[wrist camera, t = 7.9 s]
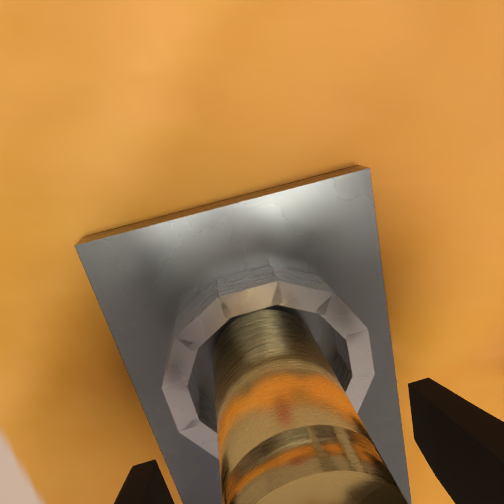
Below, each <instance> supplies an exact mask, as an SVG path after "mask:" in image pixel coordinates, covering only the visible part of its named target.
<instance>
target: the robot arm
mask: <svg viewBox="0 0 504 504" xmlns="http://www.w3.org/2000/svg"><path fill="white" fill-rule="evenodd" d="M408 388H409V397H410V406H411V414H412V423H413V432H414V439H415V441H416V443H417V445H418V446H419V448H420V450H421V452H422V454H423V455H424V457H425V459H426V461H427V462H428V464H429V466H430V467H431V469H432V471H433V472H434V474H435V476H436V477H437V479H438V480H439V481H440V483H441V484H442V486H443V487H444V488H445V490H446V491H447V492H448V494H449V495H450V497H451V498H452V499H453V501H454V502H455V504H504V422H503V421H501V420H499V419H497V418H496V417H494V416H492V415H490V414H489V413H487V412H485V411H484V410H482V409H480V408H478V407H477V406H475V405H473V404H472V403H470V402H468V401H467V400H465V399H463V398H462V397H460V396H458V395H457V394H455V393H453V392H452V391H450V390H448V389H447V388H445V387H443V386H442V385H440V384H438V383H437V382H435V381H433V380H432V379H430V378H426V379H422V380H419V381H416V382H412V383H409V384H408ZM114 504H174V502H173V499H172V497H171V495H170V492H169V490H168V488H167V485H166V483H165V481H164V478H163V476H162V474H161V471H160V469H159V467H158V464H157V462H156V460H151V461H148V462H145V463H141V464H138V465H135V466H133V467H132V469H131V470H130V472H129V474H128V476H127V478H126V480H125V482H124V484H123V486H122V488H121V490H120V492H119V494H118V496H117V498H116V500H115V503H114Z"/></svg>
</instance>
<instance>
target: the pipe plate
mask: <svg viewBox="0 0 504 504" xmlns="http://www.w3.org/2000/svg"><path fill="white" fill-rule="evenodd" d="M75 248H76V250H77V253H78V255H79V257H80V260H81V262H82V264H83V267H84V269H85V272H86V274H87V276H88V279H89V281H90V283H91V286H92V288H93V291H94V293H95V295H96V298H97V300H98V302H99V305H100V307H101V310H102V312H103V314H104V317H105V319H106V321H107V324H108V326H109V329H110V331H111V333H112V336H113V338H114V340H115V343H116V345H117V348H118V350H119V352H120V355H121V357H122V359H123V362H124V364H125V367H126V369H127V371H128V374H129V376H130V378H131V381H132V383H133V386H134V388H135V390H136V393H137V395H138V397H139V400H140V402H141V405H142V407H143V409H144V412H145V414H146V416H147V419H148V421H149V424H150V426H151V428H152V431H153V433H154V435H155V438H156V440H157V443H158V445H159V447H160V450H161V452H162V454H163V457H164V459H165V462H166V464H167V466H168V469H169V471H170V473H171V476H172V478H173V481H174V483H175V485H176V488H177V490H178V492H179V495H180V497H181V500H182V502H183V504H222V492H221V477H220V463H219V449H218V434H217V420H216V405H215V391H214V377H213V359H212V357H213V351H214V347H215V344H216V342H217V340H218V338H219V336H220V335H221V333H222V332H223V331H224V330H225V328H227V327H228V326H229V325H230V324H231V323H232V322H233V321H235V320H236V319H238V318H240V317H241V316H243V315H246V314H248V313H251V312H255V311H260V310H279V311H284V312H287V313H290V314H292V315H294V316H296V317H297V318H299V319H300V320H301V321H303V322H304V323H305V324H306V325H307V327H308V328H309V329H310V331H311V333H312V335H313V336H314V338H315V340H316V342H317V343H318V345H319V347H320V349H321V351H322V352H323V354H324V356H325V358H326V359H327V361H328V363H329V365H330V366H331V368H332V370H333V372H334V374H335V375H336V377H337V379H338V381H339V382H340V384H341V386H342V388H343V390H344V391H345V393H346V395H347V397H348V398H349V400H350V402H351V404H352V405H353V407H354V409H355V411H356V413H357V414H358V416H359V418H360V420H361V421H362V423H363V425H364V427H365V428H366V430H367V432H368V434H369V436H370V437H371V439H372V441H373V443H374V444H375V446H376V448H377V450H378V451H379V453H380V455H381V457H382V459H383V460H384V462H385V464H386V466H387V467H388V469H389V471H390V473H391V475H392V476H393V478H394V480H395V482H396V483H397V485H398V487H399V489H400V490H401V492H402V494H403V496H404V498H405V499H406V501H407V503H408V504H412V503H411V495H410V487H409V479H408V471H407V463H406V455H405V447H404V439H403V431H402V423H401V415H400V407H399V399H398V391H397V383H396V375H395V367H394V359H393V351H392V343H391V335H390V327H389V319H388V311H387V303H386V295H385V287H384V279H383V271H382V263H381V255H380V247H379V239H378V231H377V223H376V215H375V207H374V199H373V191H372V183H371V174H370V168H367V167H363V166H359V165H357V166H353V167H349V168H345V169H341V170H338V171H334V172H330V173H326V174H322V175H319V176H315V177H311V178H307V179H303V180H299V181H296V182H292V183H288V184H284V185H280V186H277V187H273V188H269V189H265V190H261V191H257V192H254V193H250V194H246V195H242V196H238V197H235V198H231V199H227V200H223V201H219V202H215V203H212V204H208V205H204V206H200V207H196V208H193V209H189V210H185V211H181V212H177V213H173V214H170V215H166V216H162V217H158V218H154V219H151V220H147V221H143V222H139V223H135V224H131V225H128V226H124V227H120V228H116V229H112V230H109V231H105V232H101V233H97V234H93V235H90V236H86V237H83V238H82V239H81V240H80V241H79V242H78V243H77V244H76V245H75Z"/></svg>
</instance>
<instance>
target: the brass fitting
mask: <svg viewBox="0 0 504 504" xmlns="http://www.w3.org/2000/svg"><path fill="white" fill-rule="evenodd" d="M212 359H213V377H214V391H215V405H216V420H217V434H218V449H219V463H220V477H221V492H222V504H408V503H407V501H406V499H405V498H404V496H403V494H402V492H401V490H400V489H399V487H398V485H397V483H396V482H395V480H394V478H393V476H392V475H391V473H390V471H389V469H388V467H387V466H386V464H385V462H384V460H383V459H382V457H381V455H380V453H379V451H378V450H377V448H376V446H375V444H374V443H373V441H372V439H371V437H370V436H369V434H368V432H367V430H366V428H365V427H364V425H363V423H362V421H361V420H360V418H359V416H358V414H357V413H356V411H355V409H354V407H353V405H352V404H351V402H350V400H349V398H348V397H347V395H346V393H345V391H344V390H343V388H342V386H341V384H340V382H339V381H338V379H337V377H336V375H335V374H334V372H333V370H332V368H331V366H330V365H329V363H328V361H327V359H326V358H325V356H324V354H323V352H322V351H321V349H320V347H319V345H318V343H317V342H316V340H315V338H314V336H313V335H312V333H311V331H310V329H309V328H308V327H307V325H306V324H305V323H304V322H303V321H301V320H300V319H299V318H297V317H296V316H294V315H292V314H290V313H287V312H284V311H279V310H260V311H255V312H251V313H248V314H246V315H243V316H241V317H240V318H238V319H236V320H235V321H233V322H232V323H231V324H230V325H229V326H228V327H227V328H225V330H224V331H223V332H222V333H221V335H220V336H219V338H218V340H217V342H216V344H215V347H214V351H213V357H212Z"/></svg>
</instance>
